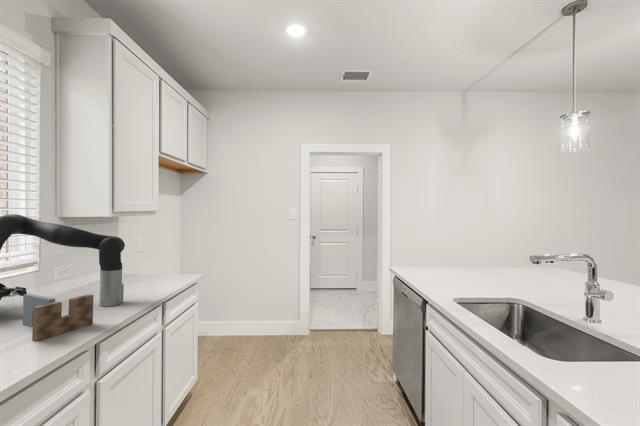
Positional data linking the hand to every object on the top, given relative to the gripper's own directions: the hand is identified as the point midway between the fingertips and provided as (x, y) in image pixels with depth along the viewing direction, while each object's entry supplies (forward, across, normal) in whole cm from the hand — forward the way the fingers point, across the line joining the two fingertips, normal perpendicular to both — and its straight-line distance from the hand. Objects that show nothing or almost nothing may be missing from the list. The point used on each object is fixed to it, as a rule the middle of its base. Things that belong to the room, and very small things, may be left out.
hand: (13, 295), depth 137 cm
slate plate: (+16, 0, +10) cm, 19 cm away
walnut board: (+30, +1, +10) cm, 32 cm away
